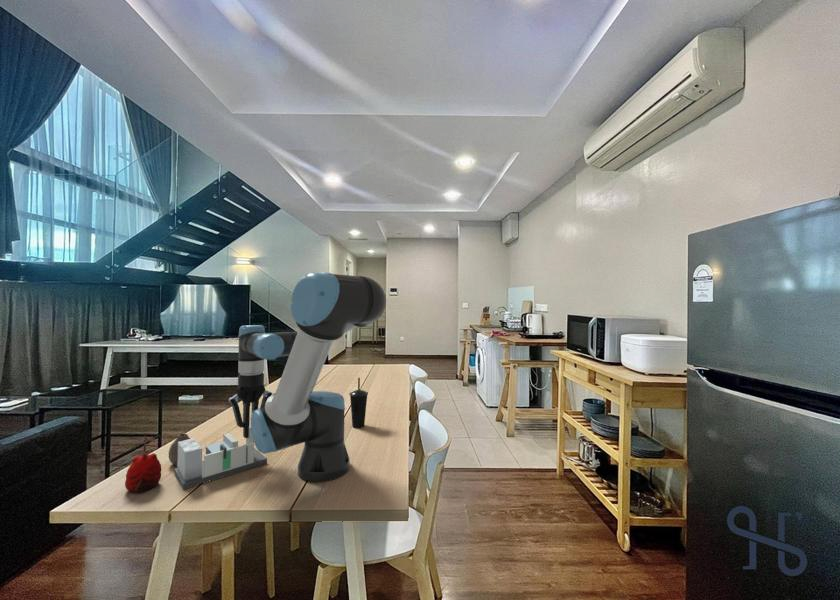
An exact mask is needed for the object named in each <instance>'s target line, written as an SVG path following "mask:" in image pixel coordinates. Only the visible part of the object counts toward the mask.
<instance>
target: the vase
mask: <svg viewBox="0 0 840 600" xmlns="http://www.w3.org/2000/svg"><path fill="white" fill-rule="evenodd" d="M188 439H191V437H190V436H189V435H188V434H187V433H181V434H177V437H176V439H175V440H174V441H173V442H172V444H171V445H170V447H169V449H168V460H169V462H170V463H171V464H172V465H174V466H177V463H178V442H179V441H184V440H188Z"/></svg>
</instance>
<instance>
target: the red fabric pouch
mask: <svg viewBox="0 0 840 600" xmlns="http://www.w3.org/2000/svg"><path fill="white" fill-rule="evenodd" d="M142 439H143V447H142V451H143V452H142V455H136V456H135V457H134V458H133V459H132V463H131V464H130V465H129V468H128V469H127V470H126V474H125V482H124V487H125V489H126V490H127V491H128V492H130V493H135V494H136V493H142V492H146V491H149V490H151V489H153V488H154V487H156V486H157V485H158V484H159V482H160V481H161V479H162V464H161V462H160V460H159V459H158V456H157V454H156V453H154V452H153V453H151V454H147V451H146V449H147V443H148V442H153V443H155V439H156V438H155V437H153V438H151V439H148V437H147V434H146V435H144V436H142Z"/></svg>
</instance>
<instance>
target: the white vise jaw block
mask: <svg viewBox="0 0 840 600" xmlns="http://www.w3.org/2000/svg"><path fill="white" fill-rule="evenodd" d="M202 461H203V447H202V446H201V445H200V444H199V443H198V440H196V439H195V438H194V437H193V438H190V439H188V440H184V441H179V442H178V463H177V467H176V468H177V470H178V471H179V473H180V475H181V477H182V478H183V480H184V482H186V481H190V480H193V479H196V478H200V477H202Z"/></svg>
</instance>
